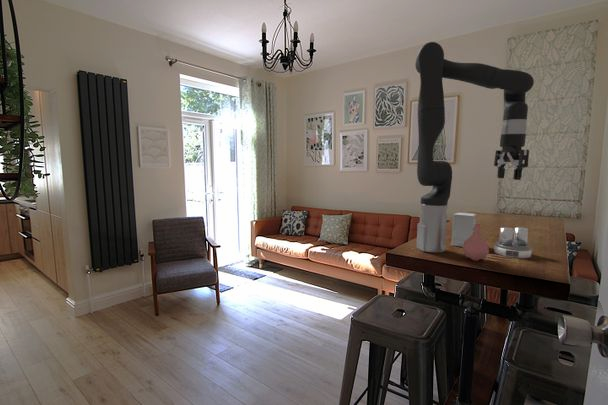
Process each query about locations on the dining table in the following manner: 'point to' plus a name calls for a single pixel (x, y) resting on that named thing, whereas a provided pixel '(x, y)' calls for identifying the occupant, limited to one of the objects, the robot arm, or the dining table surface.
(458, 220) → the supplement box
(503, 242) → the steel spacer
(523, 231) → the steel spacer
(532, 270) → the dining table surface
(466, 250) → the pink rounded bulb
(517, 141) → the robot arm
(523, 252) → the scale
